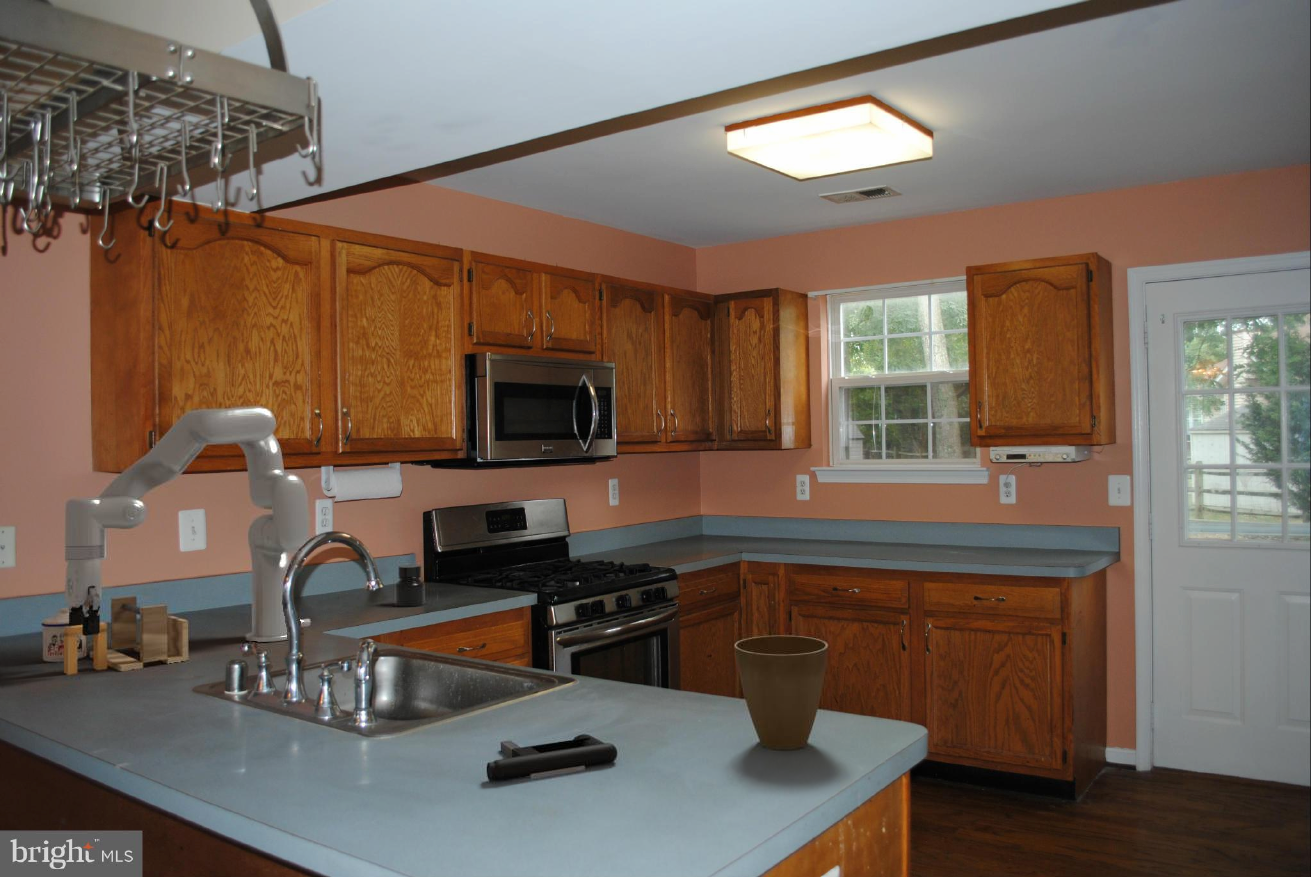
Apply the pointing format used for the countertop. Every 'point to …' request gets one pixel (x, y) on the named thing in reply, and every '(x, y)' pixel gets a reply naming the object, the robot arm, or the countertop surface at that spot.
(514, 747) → the door handle
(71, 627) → the yellow wooden arch
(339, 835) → the countertop surface
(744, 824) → the countertop surface
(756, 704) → the plant pot
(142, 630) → the wooden rack
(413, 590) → the ink bottle
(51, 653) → the teacup with lid
